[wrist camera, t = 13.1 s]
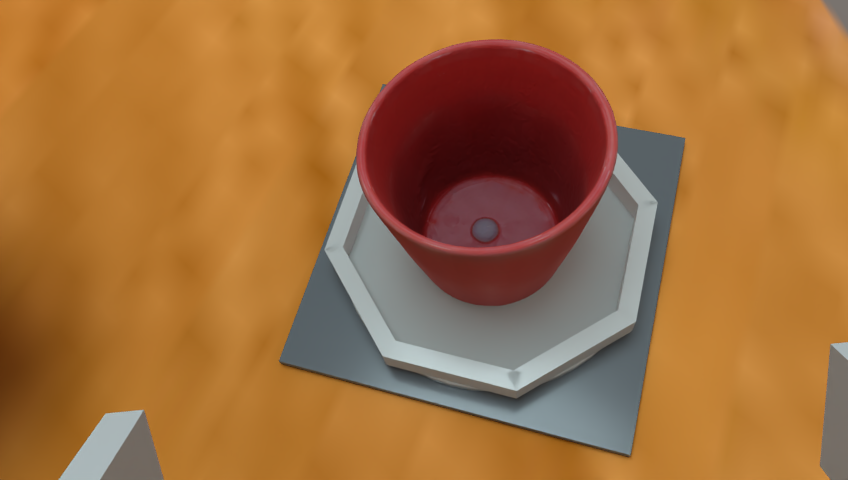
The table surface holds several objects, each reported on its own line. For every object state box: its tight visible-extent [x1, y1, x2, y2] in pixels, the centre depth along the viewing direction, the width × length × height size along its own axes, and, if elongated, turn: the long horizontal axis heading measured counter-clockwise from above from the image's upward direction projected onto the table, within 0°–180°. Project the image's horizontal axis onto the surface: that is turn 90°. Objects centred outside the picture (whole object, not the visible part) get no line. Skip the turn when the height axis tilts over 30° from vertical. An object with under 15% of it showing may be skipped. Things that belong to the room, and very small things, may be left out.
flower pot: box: [356, 39, 618, 306], centre depth 35 cm, size 11×11×10 cm
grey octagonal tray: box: [279, 84, 685, 457], centre depth 40 cm, size 18×18×3 cm
